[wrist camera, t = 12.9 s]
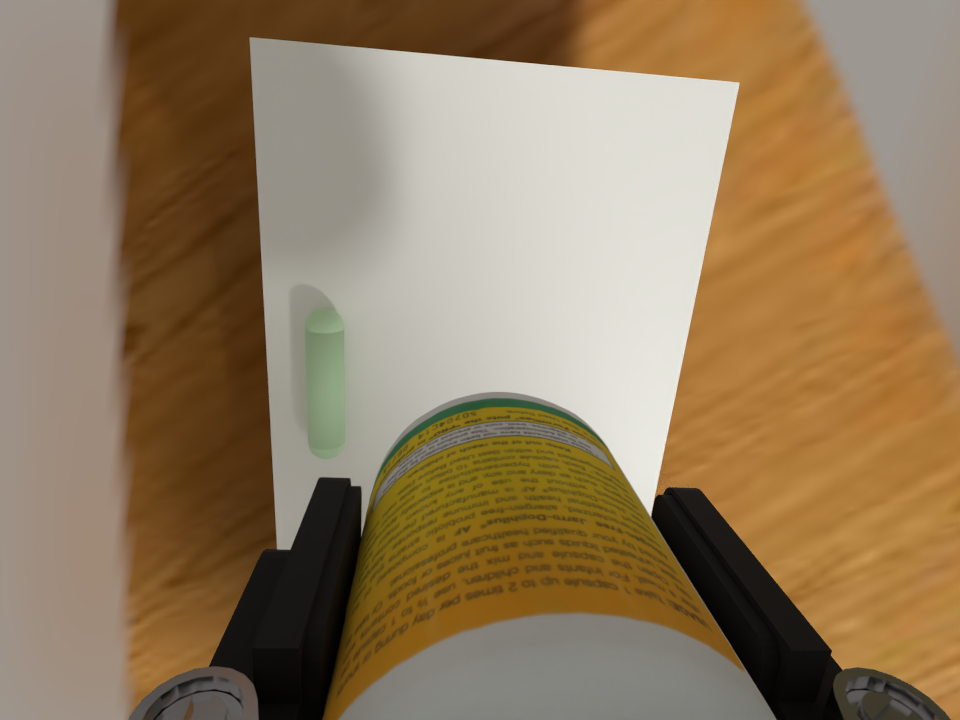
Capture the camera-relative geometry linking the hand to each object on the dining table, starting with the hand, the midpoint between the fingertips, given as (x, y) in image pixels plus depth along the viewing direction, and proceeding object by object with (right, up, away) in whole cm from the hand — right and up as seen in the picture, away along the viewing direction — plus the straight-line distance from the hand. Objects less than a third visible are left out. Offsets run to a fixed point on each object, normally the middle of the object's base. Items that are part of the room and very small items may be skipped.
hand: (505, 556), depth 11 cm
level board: (-1, +3, +10) cm, 11 cm away
